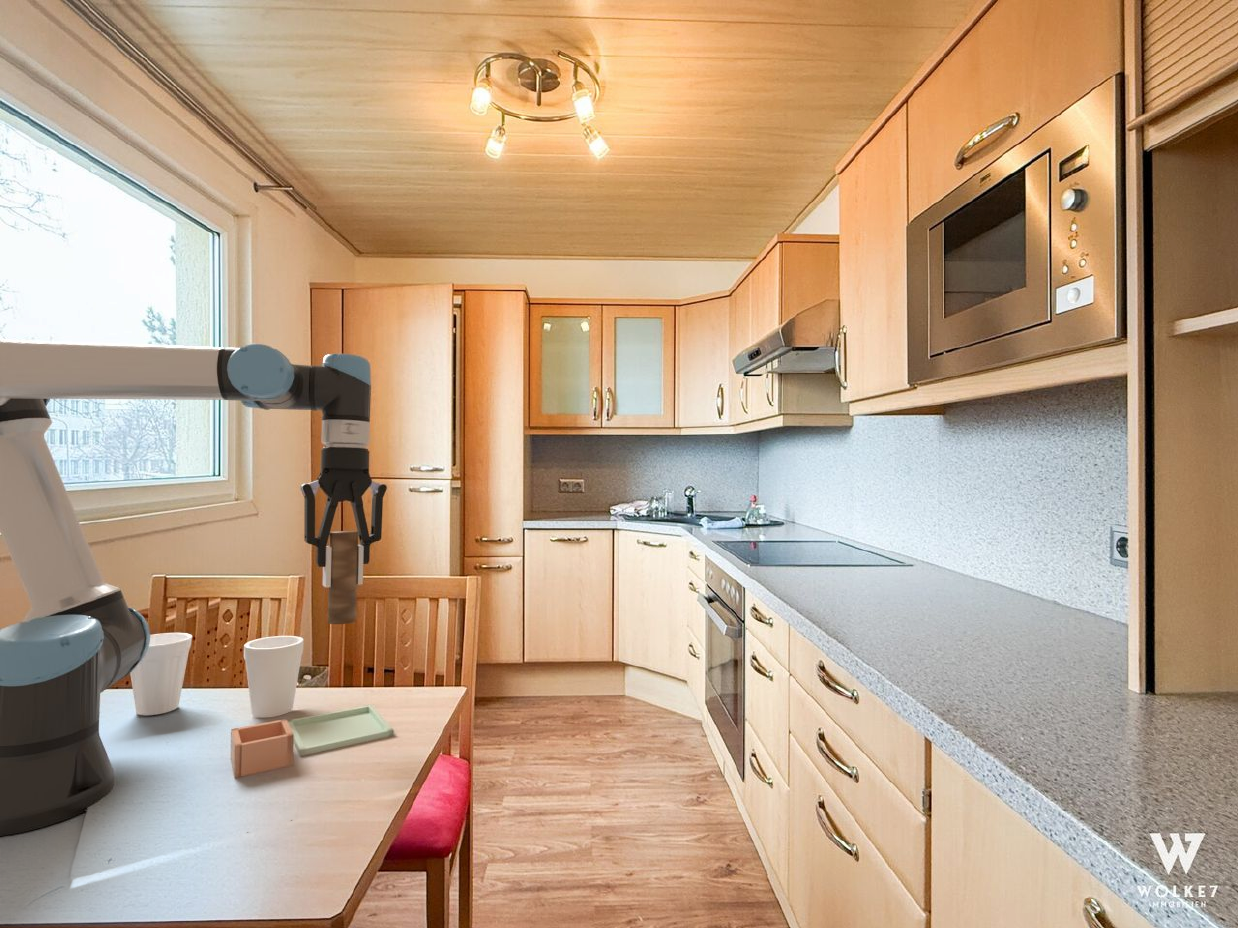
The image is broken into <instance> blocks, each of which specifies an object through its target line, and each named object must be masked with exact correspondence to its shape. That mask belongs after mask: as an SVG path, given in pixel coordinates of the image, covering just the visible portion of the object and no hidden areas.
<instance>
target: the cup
mask: <svg viewBox="0 0 1238 928" xmlns="http://www.w3.org/2000/svg"><path fill="white" fill-rule="evenodd" d="M192 640H193V635H192V634H190V633H187V632H164V633H155V634H150V643H149V647H148V650H147V652H146V654H145V656H144V657H143V659H142V660H141V661H140V662H139V664H138V665H137V666H136V667H135V668H134V670H133V671H132V672H131V673H130V674H129V675H130V679H131V687H132V694H133V700H134V701H133V702H134V706H135V714H137V715H139V716H153V715H155V716H156V715H161V714H165V713H169V712H171V711H175V710H176V709H177V708H179V706H180V705H179V704H180V700H181V693H182V689H183V684H184V678H185V673H186V669H187V668H186V667H187V664H188V663H187V662H188V657H189V652H190V649H191V647H192Z"/></svg>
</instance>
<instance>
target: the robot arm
mask: <svg viewBox="0 0 1238 928" xmlns="http://www.w3.org/2000/svg"><path fill="white" fill-rule="evenodd" d="M371 373H372V372H371V363H370V362H369V360H368V359H367V358H365V357H363V356H361V355H356V354H349V353H330V354H325V355H324V357H323V360H322V363H321V365H308V364H307V365H306V364H295V363H294V364H293V363H291V361H290V359H289V358H288V357H287V356H286V355H285V354H283V352H281V351H280V350H278V349H276V348H273V347H272V346H269V345H266V344H263V343H249V344H246V345H243V346H241V347H220V346H219V347H218V346H217V347H216V346H215V347H214V346H192V345H191V346H185V345H163V344H162V345H161V344H159V345H158V344H157V345H155V344H129V343H128V344H127V343H106V342H105V343H103V342H100V343H99V342H74V341H73V342H72V341H70V342H69V341H48V340H47V341H45V340H41V341H40V340H16V339H13V340H11V339H4V338H3V337H2V336H1V335H0V534H1V536H2V540H3V542H4V545H5V547H6V548H7V551H8V554H9V556H10V558H11V560H12V563H13V565H14V567H15V570H16V572H17V576H18V577H19V580H20V582H21V584H22V586H23V589H24V591H25V593H26V596H27V598H28V599H27V600H28V601H29V602H30V609H29V611H28V612H27V614H26V615H25V617H24V618H23V620H22V621H21V622H16V623H15V624H11V625H9V626H6V627H3V628H1V629H0V836H7V835H8V836H9V835H13V834H19V833H23V832H24V833H26V832H29V831H32V830H37V829H42V828H44V827H47V826H51V825H54V824H57V823H60V822H63V821H66V820H68V819H70V818H74V817H75V816H77V815H80V814H82V813H85V812H86V811H88V808H89V807H91V806H93V805H94V804H97V803H98V802H100V801H101V800H102V799H104V798H105V797H106V796H108V795H109V794H110V792H111V791H112V790H113V788H114V782H115V781H114V780H115V772H114V768H113V765H112V763H111V761H110V758H109V756H108V752H107V749H106V748H105V746H104V743H103V740H102V739H101V736H100V714H101V712H100V710H101V709H100V708H101V693H103V692H104V691H105V690H107V689H109V688H110V687H111V686H113V685H114V684H115V683H118V682H120V681H122V680H123V679H124V678H126V677H127V676H129V675H130V673H131V672H132V671H133V670H134V668H135V667H136V666H137V665H138V664H139V662H140V661H141V660H142V659H143V657H144V656H145V654H146V652H147V650H148V647H149V643H150V635H151V632H150V631H151V630H150V626H149V624H148V621H147V620H146V619H145V617H144V616H143V614H141V613H140V612H139V611H138V610H136V609H134V608H132V607H130V606H128V604H127V602H126V600H125V598H124V594H123V592H122V590H121V588H120V587H118V586H116V585H113V584H110V583H106V582H105V581H104V579H103V577H102V574H101V572H100V569H99V567H98V564H97V562H96V559H95V558H94V555H93V552H92V550H91V547H90V545H89V542H88V540H87V538H86V536H85V533H84V530H83V528H82V525H81V523H80V521H79V518H78V517H77V514H76V511H75V509H74V506H73V504H72V501H71V499H70V496H69V494H68V492H67V489H66V487H65V485H64V482H63V480H62V478H61V474H60V472H59V470H58V467H57V465H56V462H55V460H54V458H53V455H52V453H51V450H50V447H49V445H48V443H47V441H46V439H45V434H46V432H47V431H48V429H50V427H51V425H52V424H53V421H52V418H51V417H50V413H49V412H48V409H47V406H48V404H49V403H50V400H52V399H53V400H56V399H58V400H68V399H69V400H174V401H175V400H180V401H181V400H182V401H183V400H184V401H185V400H186V401H187V400H188V401H190V400H193V401H194V400H195V401H196V400H198V401H199V400H201V401H204V400H205V401H209V400H211V401H216V400H217V401H221V400H223V401H240V402H241V404H242V405H243V406H244V407H247V408H252V409H260V410H262V409H263V410H266V411H267V410H289V411H290V410H297V411H299V410H300V411H301V410H302V411H315V412H316V411H321V414H322V416H321V441H320V442H321V444H323V445H324V447H322V449H320V450H321V452H320V473H319V475H318V477H317V478H316V479H317V480H314V481H312V482H309V483H302V484H301V485H300V491H301V492H302V495H303V496H302V497H304V499H303V501H304V517H303V518H304V519H303V520H304V529H303V530H304V535H303V536H304V537H303V538H304V542H305V543H306V544H309V545H312V546H315V548H316V553H315V554H316V556H315V557H316V558H315V559H316V560H315V561H316V562H315V563H316V567H319V568H322V586H323V587H324V588H329V587H331V549H332V548H331V547H329V545H328V541H329V539H330V532H331V529H332V526H333V521H334V519H335V514H336V512H337V511H336V510H337V508H338V505H339V503H342V502H349V503H350V505H351V507H352V511H353V517H354V521H355V525H356V526H355V527H356V531H357V532H358V541H359V543H360V544H358V560H357V586H360V585H364V565H369V563H370V556H371V555H370V548H371V545H372V544H373V543H376V542H379V541H381V539H382V532H383V531H382V529H383V508H384V507H383V506H384V504H383V503H384V497H385V494H386V492H387V489H388V487H387V484H385V483H384V484H383V483H379V482H376V481H373V480H372V477H371V475H370V450H369V449H368V448H366V446H369V445H370V443H371V442H370V440H371V439H370V431H371V430H370V427H371V426H370V425H371V424H370V423H371V422H370V421H371V419H370V418H371V399H372V398H371V397H372V394H371V393H372V379H371V377H372V376H371ZM319 488H320V489H321V490H322V491H323V493H324V495H326V501H325V508H324V511H323V515H322V519H321V523H320V526H319V530H318V534H317V537H316V497H315V496H316V495H317V494H318V489H319ZM369 488H370V493H371V495H372V498H371V516H370V517H371V518H370V534H369V529H368V523H367V519H366V514H365V510H364V503H363V498H362V497H363V495H364V494H365V493H366V492H367V490H368V489H369Z"/></svg>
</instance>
